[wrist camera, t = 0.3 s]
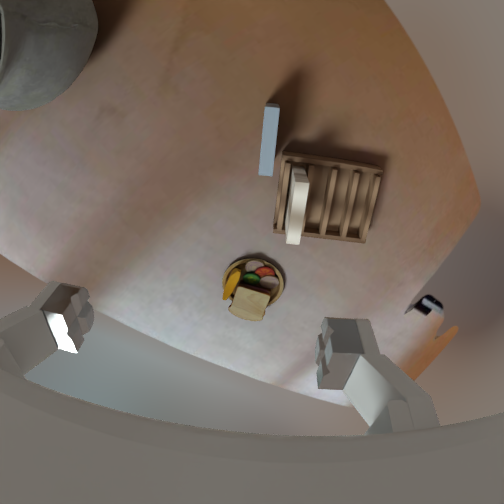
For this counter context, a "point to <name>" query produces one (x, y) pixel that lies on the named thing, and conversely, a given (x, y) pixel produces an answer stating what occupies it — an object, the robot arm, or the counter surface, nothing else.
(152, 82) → the counter surface
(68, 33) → the ceramic pot
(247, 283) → the toy sandwich meal
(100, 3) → the counter surface
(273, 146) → the grey upright panel
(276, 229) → the rack
